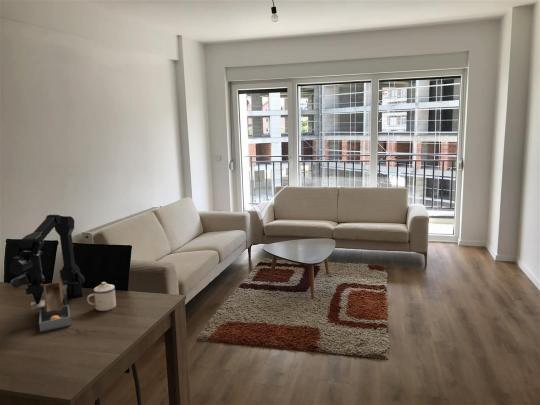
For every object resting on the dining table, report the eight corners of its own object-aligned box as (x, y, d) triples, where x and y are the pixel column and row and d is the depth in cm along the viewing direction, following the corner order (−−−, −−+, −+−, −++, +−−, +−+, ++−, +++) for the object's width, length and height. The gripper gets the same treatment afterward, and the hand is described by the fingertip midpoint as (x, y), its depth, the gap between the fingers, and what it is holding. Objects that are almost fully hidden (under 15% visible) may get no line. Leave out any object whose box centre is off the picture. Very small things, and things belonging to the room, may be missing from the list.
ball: (59, 313, 175) (60, 316, 172) (61, 322, 176) (61, 325, 172) (49, 315, 173) (49, 318, 170) (50, 324, 174) (50, 328, 170)
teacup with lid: (115, 301, 197) (112, 277, 195) (118, 308, 189) (115, 283, 187) (87, 307, 192) (84, 282, 190) (89, 314, 184) (86, 288, 182)
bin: (69, 313, 186) (68, 304, 185) (71, 325, 173) (70, 316, 173) (40, 318, 181) (39, 310, 180) (40, 332, 168) (39, 323, 168)
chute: (63, 292, 196) (62, 281, 194) (65, 313, 181) (64, 302, 179) (32, 297, 190) (31, 286, 188) (32, 320, 176) (30, 308, 174)
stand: (68, 307, 192) (67, 292, 191) (69, 311, 187) (67, 296, 186) (41, 312, 187) (39, 297, 186) (41, 317, 182) (39, 301, 181)
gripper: (12, 265, 179) (17, 300, 182) (8, 276, 163) (13, 315, 165) (42, 261, 184) (46, 295, 187) (41, 271, 168) (46, 309, 170)
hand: (37, 303), depth 177 cm, fingers closed
